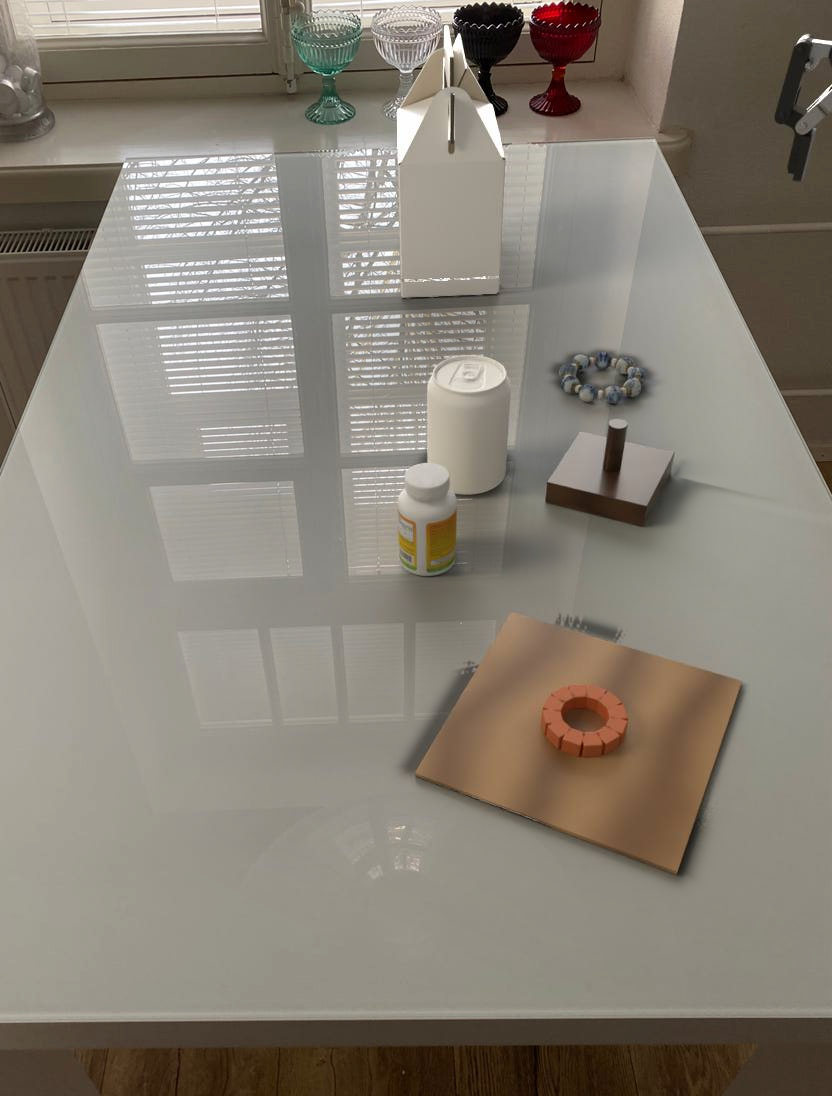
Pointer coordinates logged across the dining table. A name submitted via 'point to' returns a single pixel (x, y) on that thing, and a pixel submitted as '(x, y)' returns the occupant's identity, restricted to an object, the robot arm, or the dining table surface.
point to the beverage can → (469, 422)
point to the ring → (577, 740)
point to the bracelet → (602, 362)
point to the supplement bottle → (427, 520)
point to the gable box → (449, 180)
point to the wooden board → (587, 782)
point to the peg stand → (610, 476)
